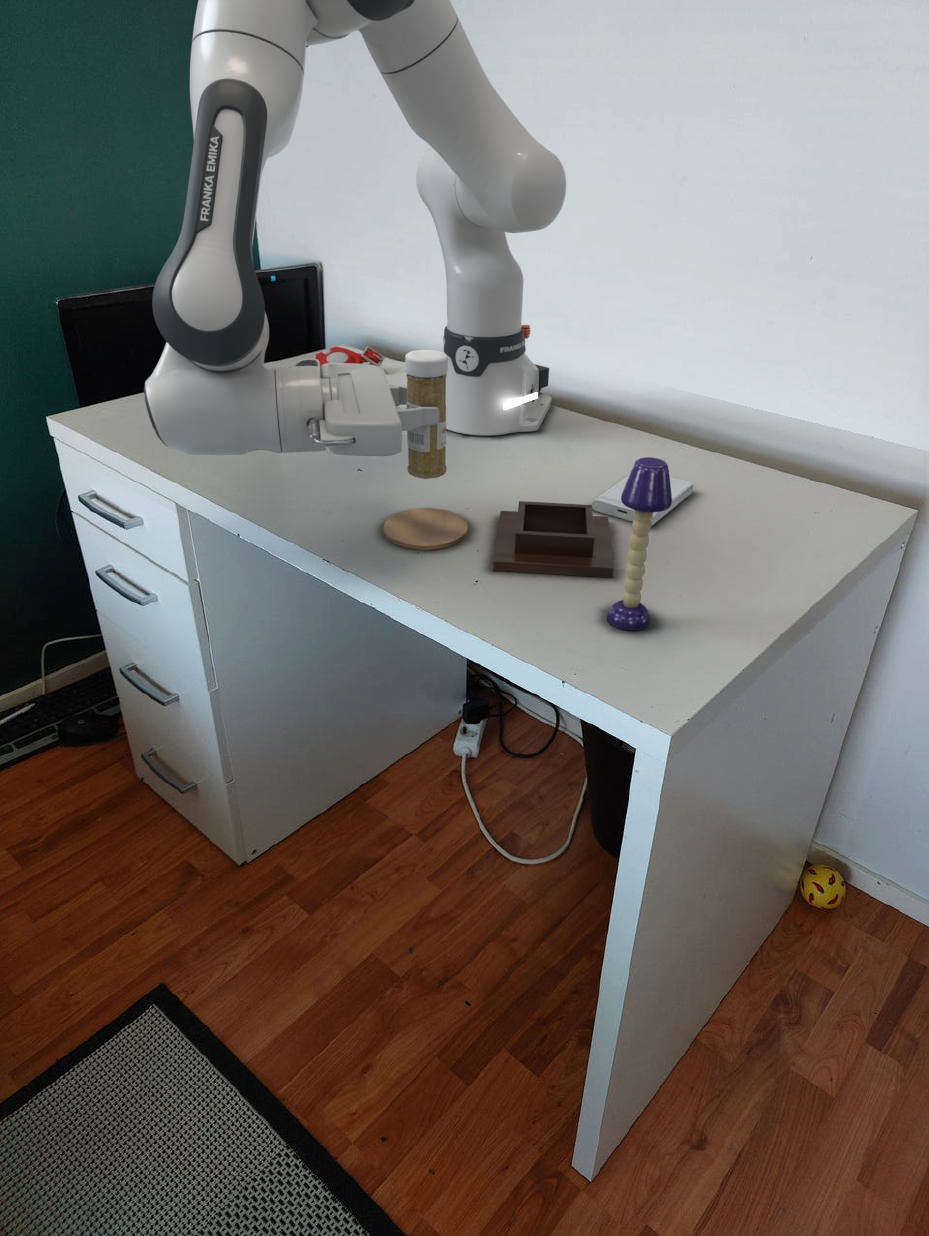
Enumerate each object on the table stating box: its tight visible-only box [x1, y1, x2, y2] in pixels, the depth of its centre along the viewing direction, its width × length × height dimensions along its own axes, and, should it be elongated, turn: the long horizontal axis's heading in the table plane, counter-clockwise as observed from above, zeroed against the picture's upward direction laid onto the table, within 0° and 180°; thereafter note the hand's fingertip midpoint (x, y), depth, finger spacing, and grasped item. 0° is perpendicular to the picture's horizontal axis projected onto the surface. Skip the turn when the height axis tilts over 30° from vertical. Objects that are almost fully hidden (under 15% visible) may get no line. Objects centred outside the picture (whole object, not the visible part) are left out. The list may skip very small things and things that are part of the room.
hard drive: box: [592, 475, 694, 527], centre depth 110 cm, size 2×8×12 cm
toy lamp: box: [606, 456, 672, 631], centre depth 82 cm, size 5×5×17 cm
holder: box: [492, 500, 614, 578], centre depth 99 cm, size 13×13×4 cm
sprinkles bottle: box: [404, 349, 448, 480], centre depth 95 cm, size 5×5×14 cm
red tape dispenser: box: [315, 345, 386, 367], centre depth 156 cm, size 12×4×10 cm
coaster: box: [383, 507, 469, 551], centre depth 102 cm, size 10×10×1 cm
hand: (434, 405), depth 94 cm, fingers closed on sprinkles bottle, 4 cm apart
